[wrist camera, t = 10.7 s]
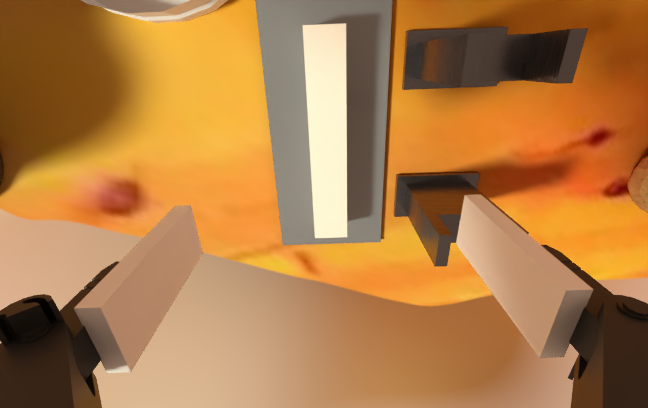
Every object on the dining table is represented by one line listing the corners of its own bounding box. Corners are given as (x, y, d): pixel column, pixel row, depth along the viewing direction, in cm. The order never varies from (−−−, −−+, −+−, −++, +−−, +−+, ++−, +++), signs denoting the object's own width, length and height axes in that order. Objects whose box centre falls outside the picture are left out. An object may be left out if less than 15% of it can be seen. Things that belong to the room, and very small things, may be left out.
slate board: (283, 242, 38) (282, 245, 37) (255, -8, 27) (254, -9, 26) (379, 239, 38) (380, 242, 37) (392, -14, 27) (393, -15, 26)
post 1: (402, 89, 30) (442, 104, 20) (406, 31, 28) (454, 14, 18) (493, 85, 30) (582, 98, 20) (504, 27, 28) (611, 7, 18)
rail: (315, 222, 36) (314, 238, 33) (305, 29, 28) (302, 25, 24) (345, 221, 36) (347, 237, 33) (343, 27, 28) (346, 23, 24)
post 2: (393, 214, 36) (421, 276, 26) (396, 174, 34) (428, 224, 24) (469, 211, 36) (528, 273, 26) (477, 171, 34) (544, 221, 24)
